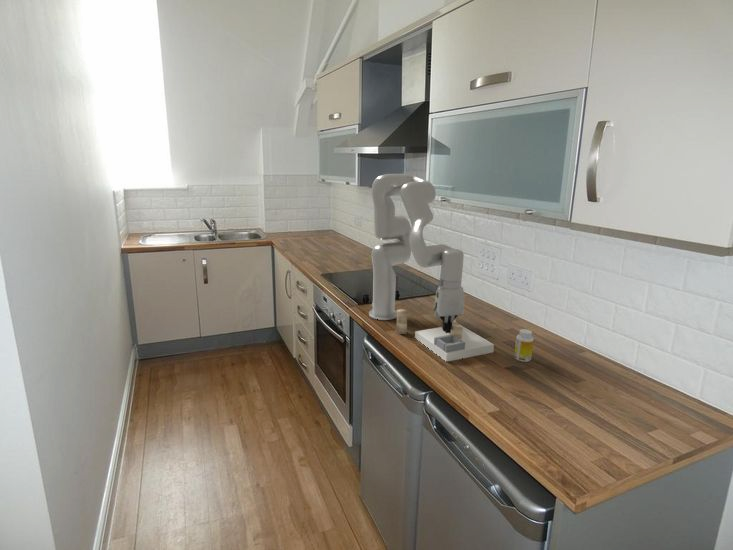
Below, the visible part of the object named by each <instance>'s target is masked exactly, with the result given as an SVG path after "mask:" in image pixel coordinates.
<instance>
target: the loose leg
mask: <svg viewBox="0 0 733 550" xmlns="http://www.w3.org/2000/svg"><path fill="white" fill-rule="evenodd" d="M396 311H397V318H396V330H395V331H396V332H397V333H398V334H397V333H396V332H395V333H396V334H397V335H399V334H405V335H407V334H408V333H407V330H408V312H409V311H408V310H406V309H403V308H402V309H397V310H396Z"/></svg>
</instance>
